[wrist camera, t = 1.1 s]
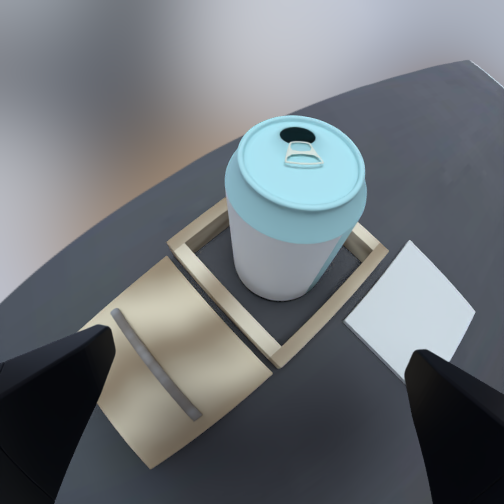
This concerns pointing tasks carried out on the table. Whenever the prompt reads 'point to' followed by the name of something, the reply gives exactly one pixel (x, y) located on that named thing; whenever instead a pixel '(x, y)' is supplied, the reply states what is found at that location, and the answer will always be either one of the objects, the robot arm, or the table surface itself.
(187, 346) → the beige slotted open frame
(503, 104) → the table surface
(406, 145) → the table surface
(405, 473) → the table surface
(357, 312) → the mat
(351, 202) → the can
